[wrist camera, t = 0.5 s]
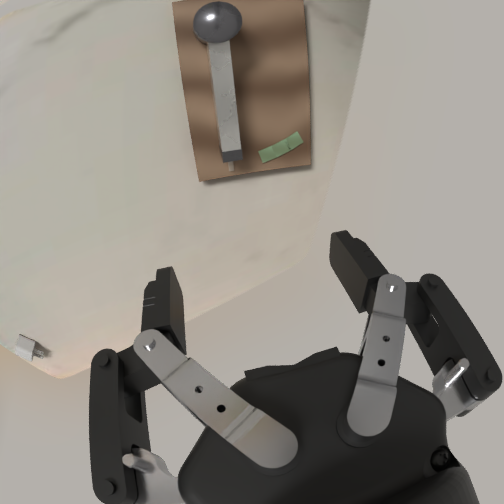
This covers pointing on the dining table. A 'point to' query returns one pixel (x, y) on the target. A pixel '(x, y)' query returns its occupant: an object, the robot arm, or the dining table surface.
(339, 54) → the dining table surface
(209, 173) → the plate
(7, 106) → the dining table surface
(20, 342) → the usb wall charger
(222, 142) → the lever
